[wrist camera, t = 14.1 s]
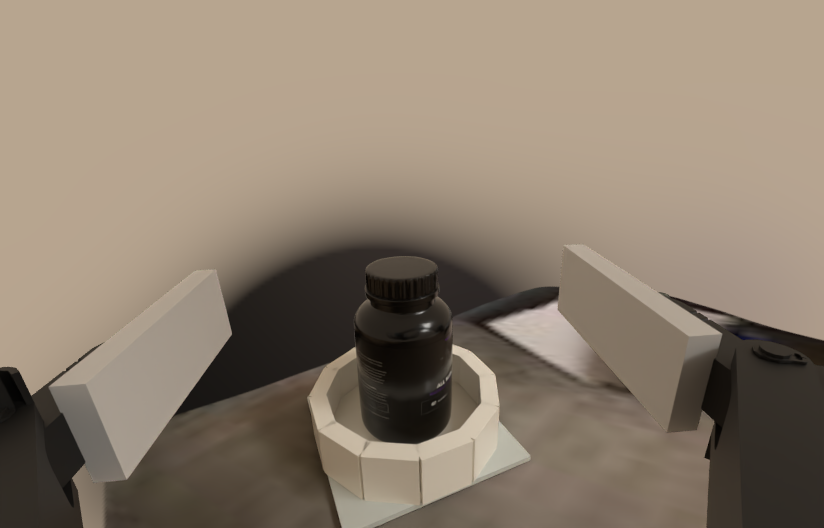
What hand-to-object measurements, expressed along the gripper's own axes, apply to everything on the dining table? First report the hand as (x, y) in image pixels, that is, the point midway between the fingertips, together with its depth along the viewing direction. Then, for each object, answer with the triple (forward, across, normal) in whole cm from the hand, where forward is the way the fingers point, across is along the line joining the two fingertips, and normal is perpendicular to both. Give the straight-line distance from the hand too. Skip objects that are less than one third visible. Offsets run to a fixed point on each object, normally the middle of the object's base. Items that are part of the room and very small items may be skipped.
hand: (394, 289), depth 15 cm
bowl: (+10, 0, -16) cm, 19 cm away
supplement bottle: (+10, 0, -15) cm, 18 cm away
